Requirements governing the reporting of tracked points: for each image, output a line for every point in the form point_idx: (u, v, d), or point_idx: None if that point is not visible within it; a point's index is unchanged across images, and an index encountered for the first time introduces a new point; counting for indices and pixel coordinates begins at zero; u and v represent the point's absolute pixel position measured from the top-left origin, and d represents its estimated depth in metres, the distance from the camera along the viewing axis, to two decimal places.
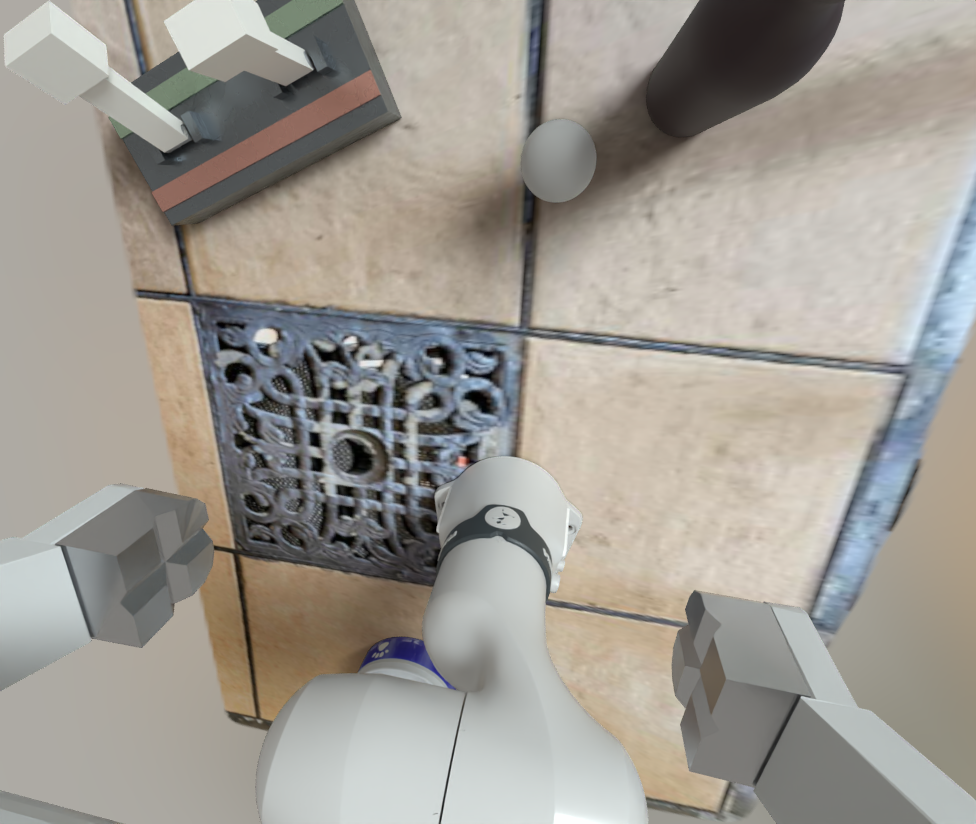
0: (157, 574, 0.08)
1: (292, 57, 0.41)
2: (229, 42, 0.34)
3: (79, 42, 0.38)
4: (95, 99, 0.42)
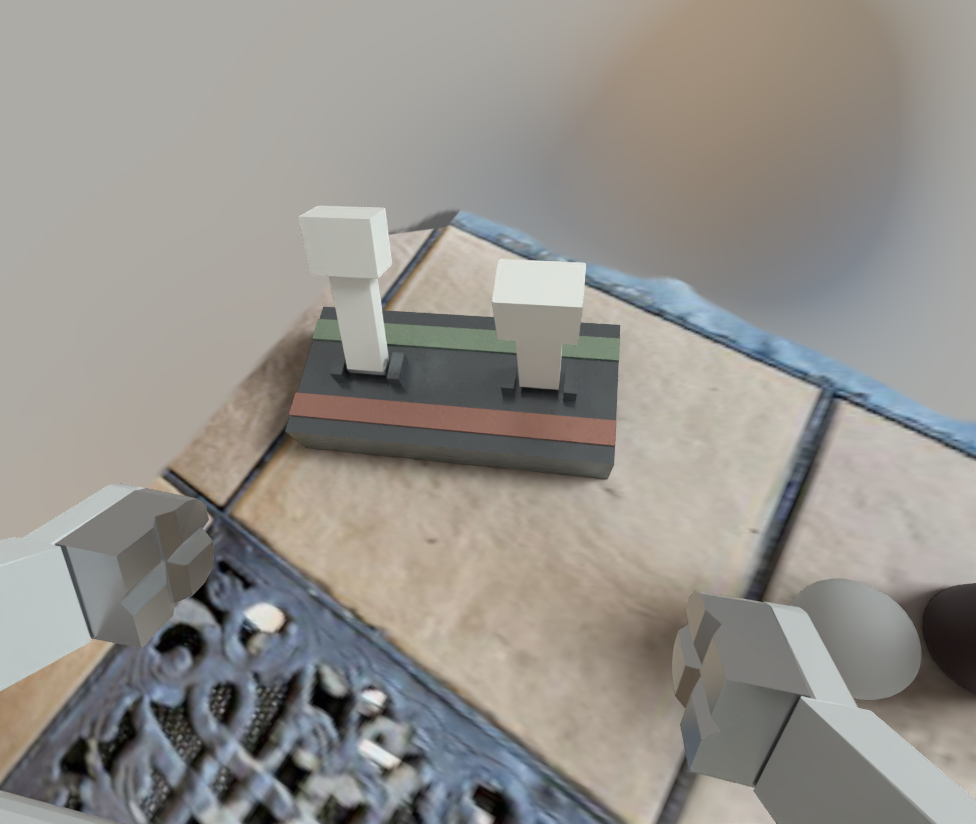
0: (157, 574, 0.08)
1: (560, 365, 0.36)
2: (557, 304, 0.28)
3: (379, 243, 0.35)
4: (339, 290, 0.37)
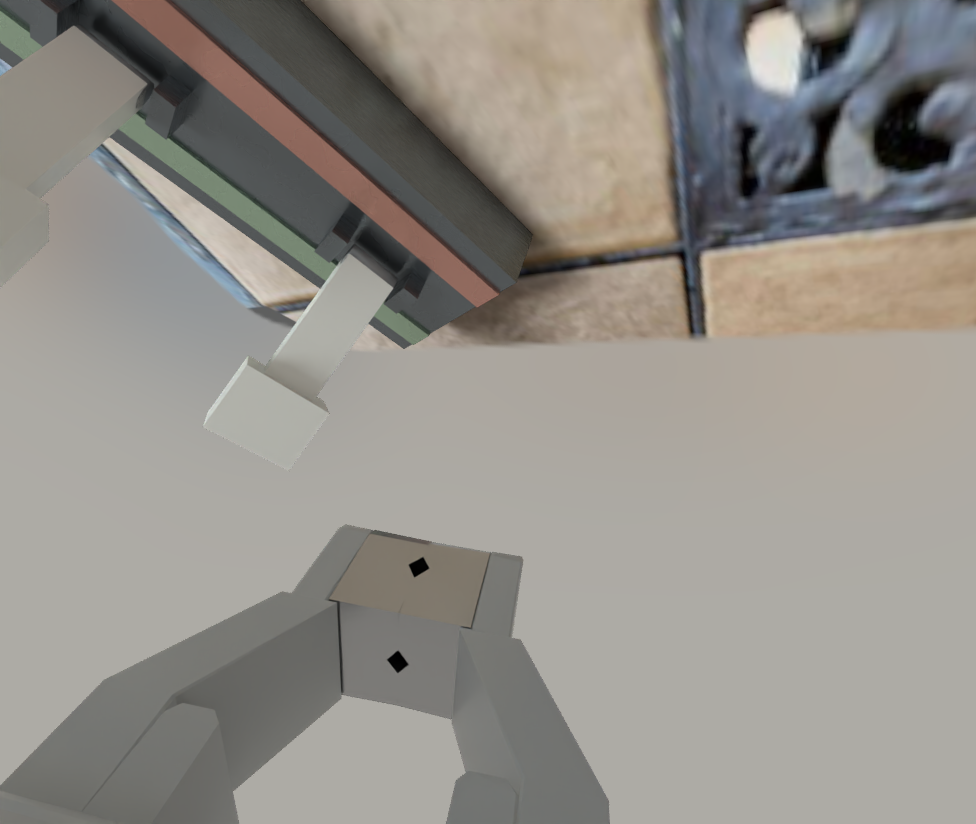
0: None
1: (13, 71, 0.20)
2: None
3: (225, 391, 0.28)
4: (316, 376, 0.29)
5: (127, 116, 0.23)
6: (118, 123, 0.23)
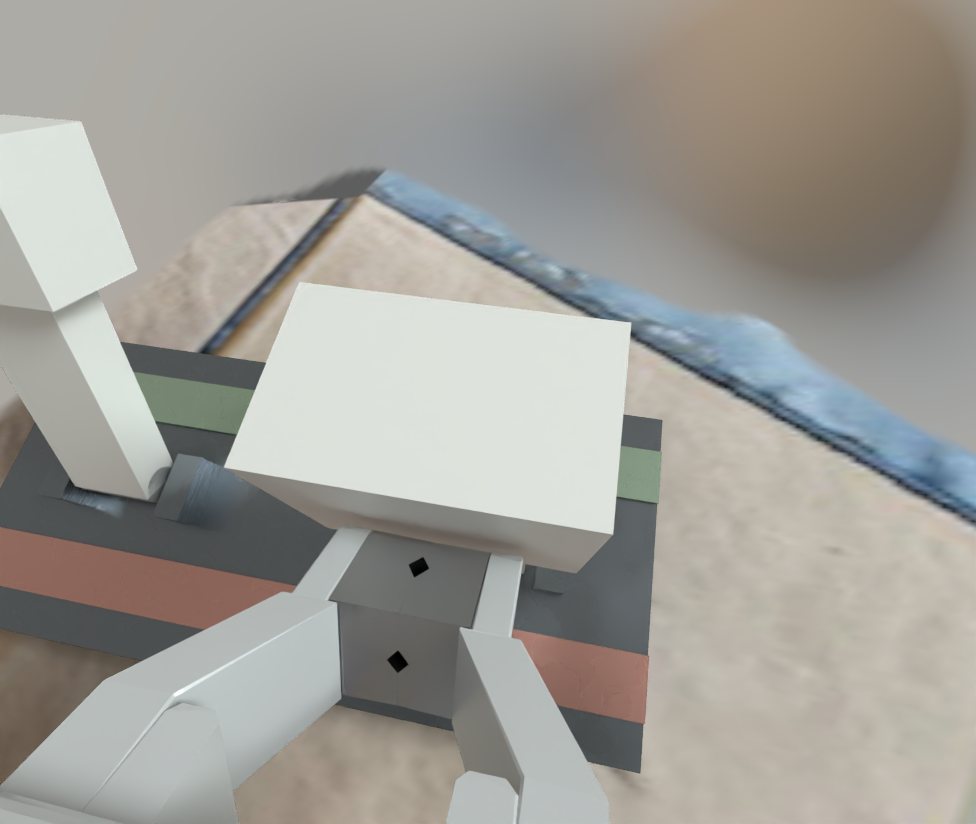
0: None
1: None
2: (499, 508, 0.06)
3: (55, 218, 0.13)
4: None
5: None
6: None
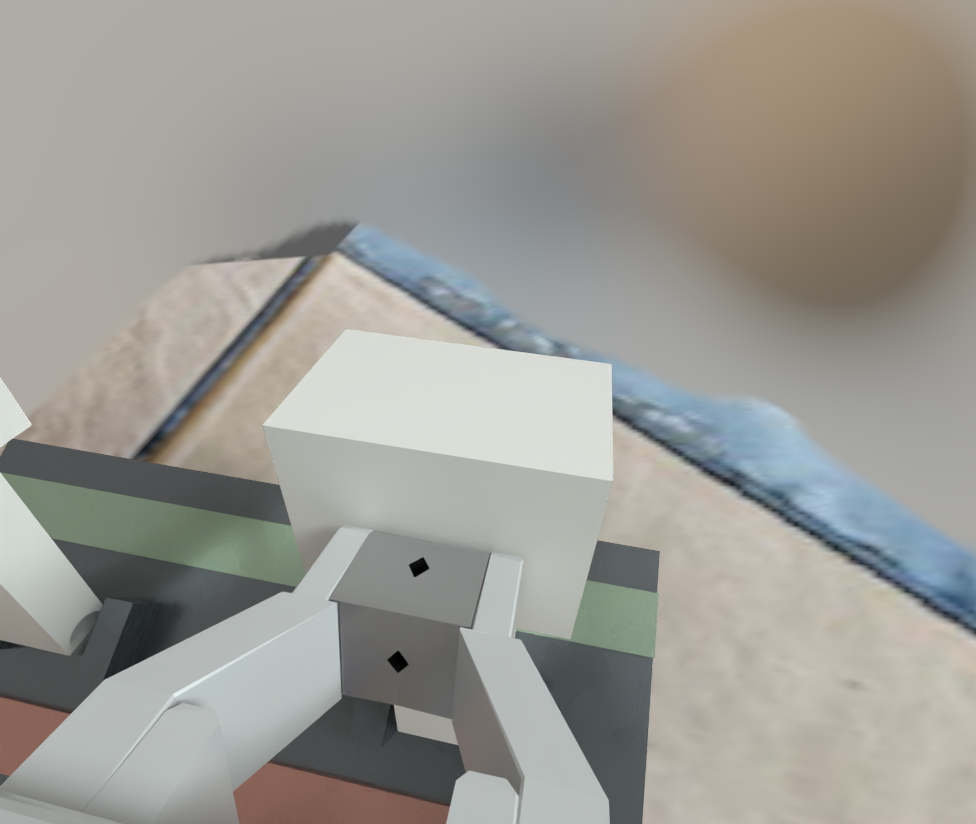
0: None
1: None
2: (511, 461, 0.07)
3: None
4: None
5: None
6: None
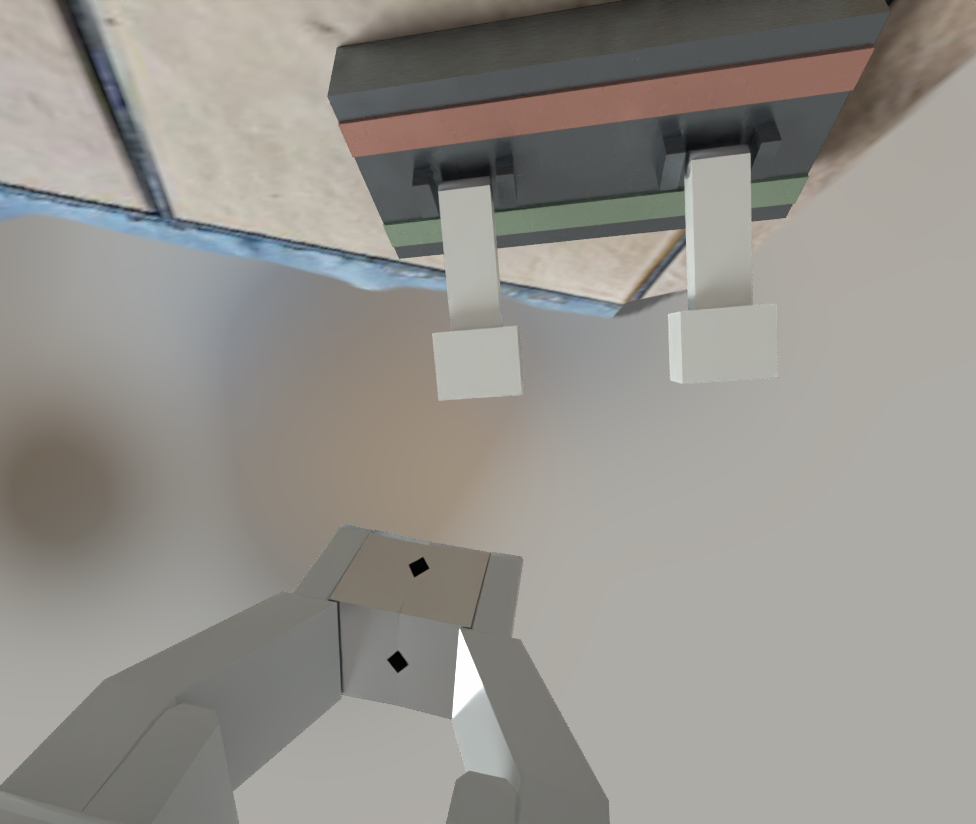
0: None
1: (444, 255, 0.30)
2: (461, 398, 0.30)
3: (676, 348, 0.29)
4: (739, 282, 0.28)
5: (493, 212, 0.30)
6: (494, 223, 0.30)
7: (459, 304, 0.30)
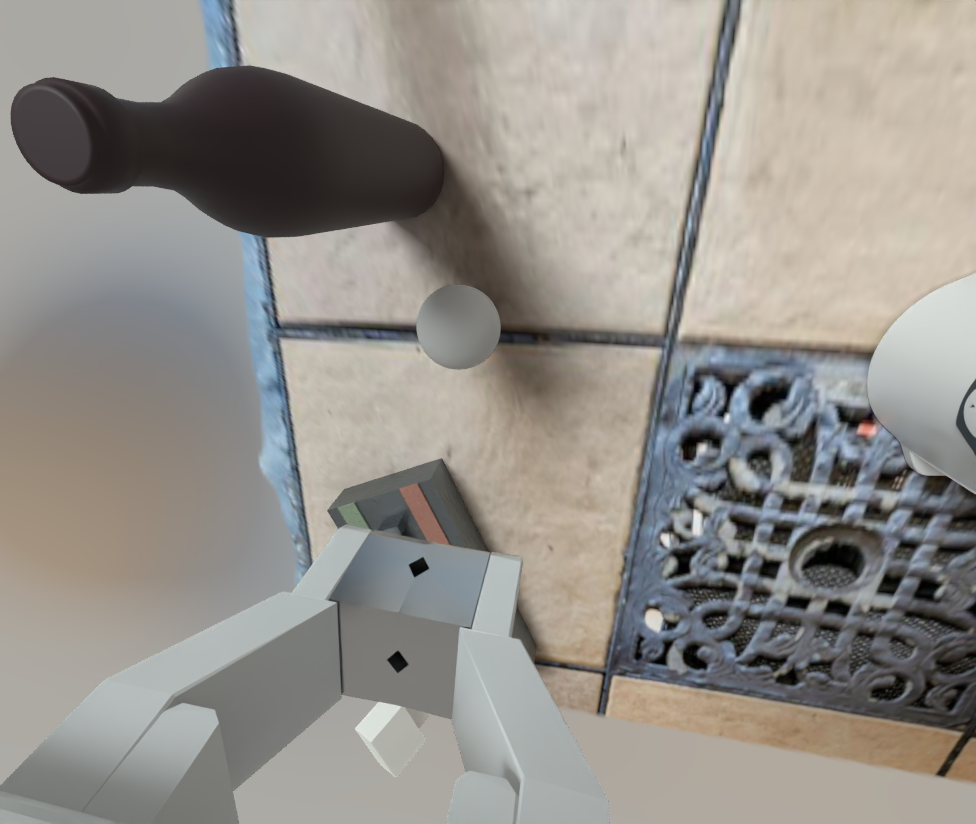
0: None
1: None
2: None
3: (380, 718, 0.47)
4: (423, 714, 0.50)
5: None
6: None
7: None
